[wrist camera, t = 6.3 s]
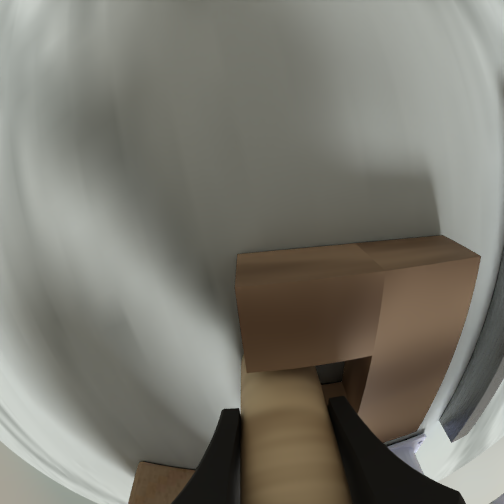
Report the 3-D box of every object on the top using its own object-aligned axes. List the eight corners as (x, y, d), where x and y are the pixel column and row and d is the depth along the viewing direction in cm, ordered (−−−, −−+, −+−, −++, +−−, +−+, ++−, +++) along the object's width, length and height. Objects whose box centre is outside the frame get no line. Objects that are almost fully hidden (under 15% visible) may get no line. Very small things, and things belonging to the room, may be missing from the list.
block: (401, 400, 15) (416, 431, 13) (259, 427, 15) (261, 464, 13) (442, 235, 11) (481, 256, 9) (237, 253, 11) (234, 287, 9)
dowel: (310, 382, 14) (346, 531, 5) (245, 389, 14) (246, 544, 5) (312, 331, 13) (369, 509, 4) (237, 339, 13) (232, 528, 4)
